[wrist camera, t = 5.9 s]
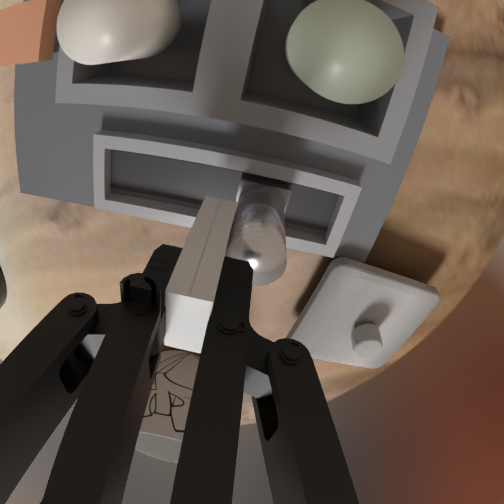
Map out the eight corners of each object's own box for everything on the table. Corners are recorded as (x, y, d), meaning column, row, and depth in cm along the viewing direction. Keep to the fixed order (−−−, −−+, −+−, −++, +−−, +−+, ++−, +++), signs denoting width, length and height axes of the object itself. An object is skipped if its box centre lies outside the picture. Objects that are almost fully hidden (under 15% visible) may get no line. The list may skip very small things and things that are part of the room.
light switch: (330, 237, 22) (342, 285, 18) (433, 273, 23) (455, 317, 19) (281, 327, 27) (281, 375, 23) (374, 347, 29) (383, 390, 25)
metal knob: (233, 213, 19) (218, 280, 14) (242, 171, 18) (228, 227, 13) (278, 223, 19) (279, 292, 14) (290, 182, 18) (297, 242, 13)
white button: (102, 58, 11) (51, 66, 8) (114, -12, 9) (65, -25, 6) (174, 61, 12) (138, 66, 8) (190, -13, 9) (158, -35, 6)
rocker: (9, 64, 12) (-7, 68, 11) (16, 8, 10) (-1, 9, 9) (56, 60, 11) (38, 63, 10) (66, -6, 9) (48, -7, 8)
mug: (198, 402, 37) (186, 472, 29) (135, 379, 35) (114, 450, 27) (234, 360, 31) (223, 451, 22) (154, 330, 29) (124, 422, 21)
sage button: (275, 78, 12) (276, 86, 9) (294, 2, 10) (303, -19, 6) (356, 100, 12) (386, 119, 9) (377, 28, 10) (415, 21, 7)
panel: (31, 184, 20) (-11, 219, 16) (40, -16, 11) (-14, -18, 7) (360, 250, 22) (378, 303, 18) (438, 37, 13) (489, 39, 8)
